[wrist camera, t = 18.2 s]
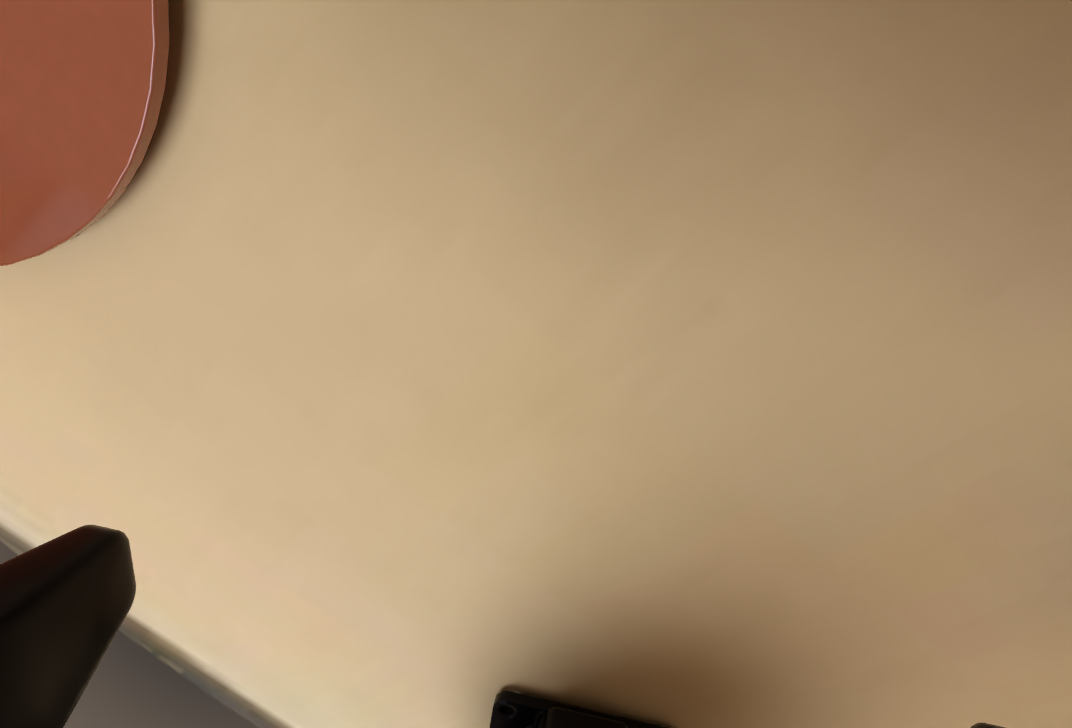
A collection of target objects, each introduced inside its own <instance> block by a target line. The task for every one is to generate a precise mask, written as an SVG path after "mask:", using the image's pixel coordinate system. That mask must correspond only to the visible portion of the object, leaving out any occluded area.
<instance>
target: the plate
mask: <svg viewBox="0 0 1072 728" xmlns="http://www.w3.org/2000/svg"><path fill="white" fill-rule="evenodd" d="M169 42H170V41H169V7H168V0H0V266H4V265H10V264H14V263H17V262H20V261H23V260H26V259H29V258H32V257H35V256H38V255H41V254H43V253H45V252H47V251H49V250H51V249H53V248H55V247H57V246H59V245H61V244H63V243H64V242H66V241H68V240H70V239H72V238H74V237H75V236H77V235H79V234H81V233H82V232H83V231H84V230H86V229H87V228H88V227H89V226H91V225H92V224H93V223H94V222H96V221H97V220H98V219H99V218H100V217H102V216H103V215H104V214H105V213H106V212H107V211H108V209H109V208H110V207H111V206H112V205H113V204H114V202H115V201H116V200H117V199H118V198H119V197H120V195H121V194H122V193H123V192H124V191H125V189H126V188H127V186H128V184H129V183H130V181H131V179H132V178H133V176H134V174H135V173H136V171H137V169H138V167H139V166H140V164H141V162H142V161H143V158H144V156H145V153H146V151H147V148H148V146H149V143H150V140H151V138H152V135H153V133H154V130H155V128H156V125H157V121H158V116H159V112H160V108H161V103H162V99H163V95H164V90H165V86H166V75H167V64H168V53H169Z"/></svg>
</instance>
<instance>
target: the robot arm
mask: <svg viewBox="0 0 1072 728" xmlns="http://www.w3.org/2000/svg"><path fill="white" fill-rule="evenodd" d="M135 591H136V582H135V576H134V570H133V563H132V557H131V551H130V545H129V540H128V538H127V536H126V535H125V534H124V533H123V532H121V531H119V530H114V529H110V528H105V527H101V526H96V525H86V526H82V527H79V528H77V529H75V530H73V531H70V532H68V533H66V534H64V535H62V536H60V537H57V538H55V539H53V540H51V541H49V542H47V543H44V544H42V545H40V546H38V547H36V548H34V549H31V550H29V551H27V552H25V553H23V554H21V555H18V556H16V557H14V558H12V559H10V560H8V561H6V562H4V563H1V564H0V728H63V727H64V725H65V723H66V721H67V720H68V718H69V716H70V715H71V713H72V711H73V710H74V708H75V706H76V704H77V702H78V700H79V699H80V697H81V695H82V694H83V692H84V690H85V688H86V686H87V685H88V683H89V681H90V679H91V677H92V676H93V674H94V672H95V670H96V669H97V667H98V665H99V663H100V661H101V659H102V658H103V656H104V654H105V653H106V651H107V649H108V647H109V645H110V644H111V642H112V640H113V638H114V637H115V635H116V633H117V631H118V629H119V628H120V626H121V624H122V622H123V621H124V619H125V617H126V615H127V613H128V612H129V610H130V608H131V606H132V603H133V600H134V597H135ZM490 728H666V727H661V726H657V725H653V724H648V723H644V722H640V721H635V720H631V719H627V718H623V717H618V716H614V715H610V714H605V713H601V712H597V711H592V710H588V709H584V708H579V707H575V706H571V705H566V704H562V703H558V702H553V701H549V700H545V699H540V698H536V697H532V696H527V695H523V694H519V693H515V692H509V691H504V692H500V693H499V694H497V696H496V698H495V702H494V706H493V711H492V717H491V724H490ZM971 728H1005V727H1000V726H996V725H991V724H987V723H977V724H975V725H973V726H971Z"/></svg>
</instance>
